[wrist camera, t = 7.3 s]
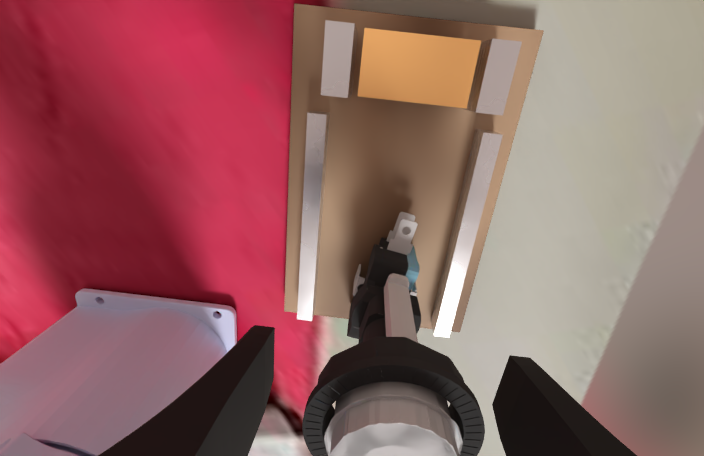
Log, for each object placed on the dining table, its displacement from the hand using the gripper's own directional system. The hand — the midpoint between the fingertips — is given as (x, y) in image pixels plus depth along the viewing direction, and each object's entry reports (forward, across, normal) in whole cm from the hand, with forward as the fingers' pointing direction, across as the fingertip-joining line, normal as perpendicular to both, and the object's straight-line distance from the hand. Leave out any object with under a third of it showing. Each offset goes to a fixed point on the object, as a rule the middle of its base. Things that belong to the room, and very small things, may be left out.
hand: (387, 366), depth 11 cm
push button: (+8, 0, +1) cm, 8 cm away
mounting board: (+9, 0, -3) cm, 9 cm away
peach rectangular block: (+7, 0, -9) cm, 11 cm away
